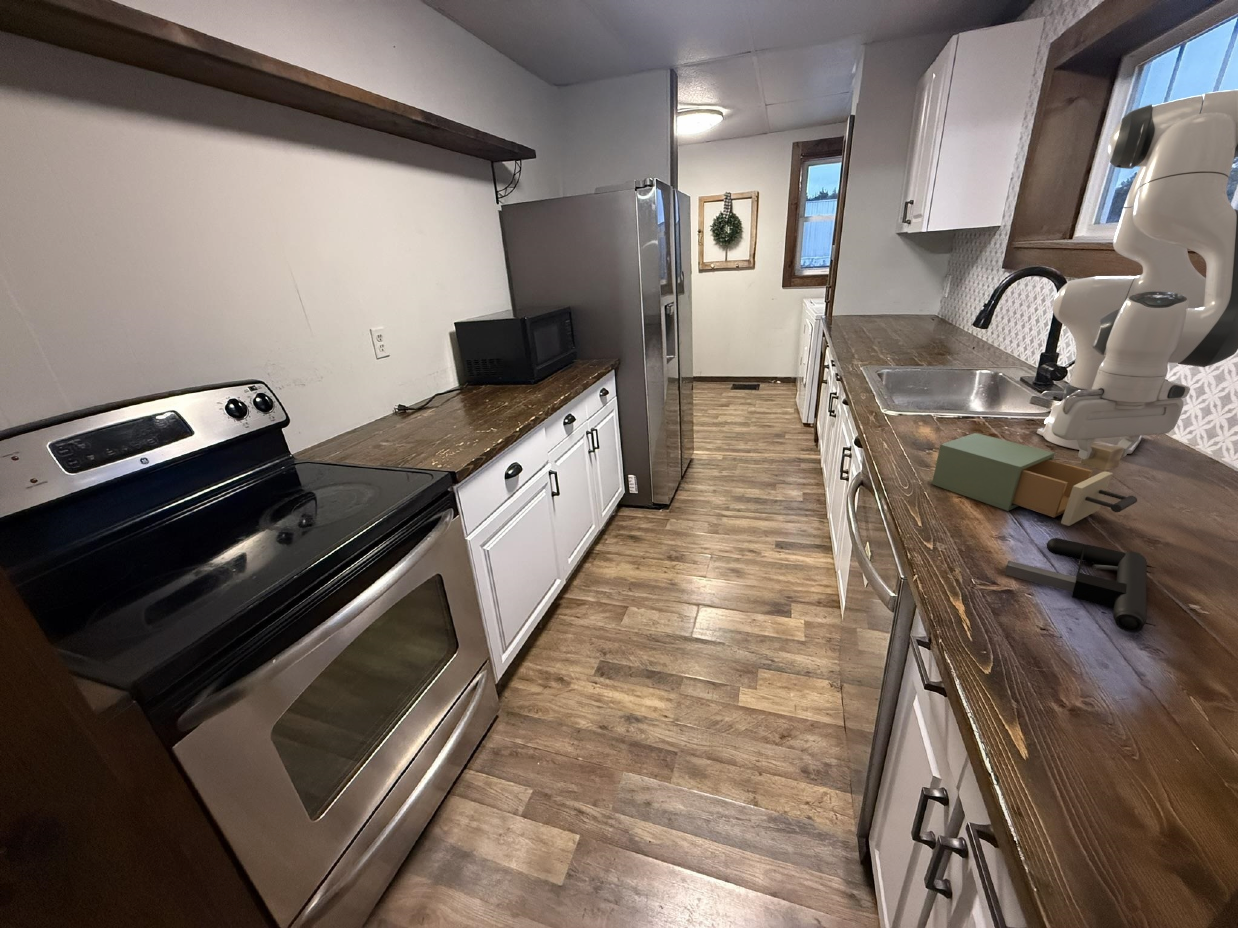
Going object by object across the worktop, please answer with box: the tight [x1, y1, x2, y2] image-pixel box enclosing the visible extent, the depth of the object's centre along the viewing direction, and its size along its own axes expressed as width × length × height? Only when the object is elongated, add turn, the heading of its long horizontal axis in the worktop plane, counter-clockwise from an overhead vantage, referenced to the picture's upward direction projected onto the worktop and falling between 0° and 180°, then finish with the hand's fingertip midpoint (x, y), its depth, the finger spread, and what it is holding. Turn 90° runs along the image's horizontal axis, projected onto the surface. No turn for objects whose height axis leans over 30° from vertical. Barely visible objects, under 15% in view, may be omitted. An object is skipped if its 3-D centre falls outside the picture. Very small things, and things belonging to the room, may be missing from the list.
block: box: [1080, 441, 1124, 472], centre depth 95 cm, size 4×4×4 cm
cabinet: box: [931, 432, 1056, 512], centre depth 101 cm, size 15×13×9 cm
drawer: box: [1012, 459, 1138, 527], centre depth 91 cm, size 18×11×7 cm, turn 28°
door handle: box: [1004, 537, 1157, 633], centre depth 73 cm, size 3×20×16 cm
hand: (1101, 457), depth 96 cm, fingers closed on block, 5 cm apart
